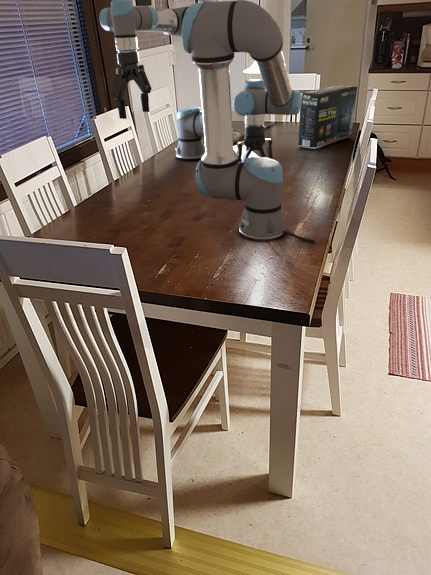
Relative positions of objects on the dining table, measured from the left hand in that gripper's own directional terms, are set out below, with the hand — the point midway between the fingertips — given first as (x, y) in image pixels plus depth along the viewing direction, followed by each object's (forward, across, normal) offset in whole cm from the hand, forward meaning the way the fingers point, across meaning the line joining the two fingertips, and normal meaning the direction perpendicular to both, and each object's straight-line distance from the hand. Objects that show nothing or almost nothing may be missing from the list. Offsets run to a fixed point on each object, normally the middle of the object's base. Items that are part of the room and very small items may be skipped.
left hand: (135, 115), depth 171 cm
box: (+28, -28, +32) cm, 51 cm away
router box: (+30, -104, +41) cm, 116 cm away
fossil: (+30, -89, -10) cm, 94 cm away
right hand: (+27, -20, +40) cm, 52 cm away
